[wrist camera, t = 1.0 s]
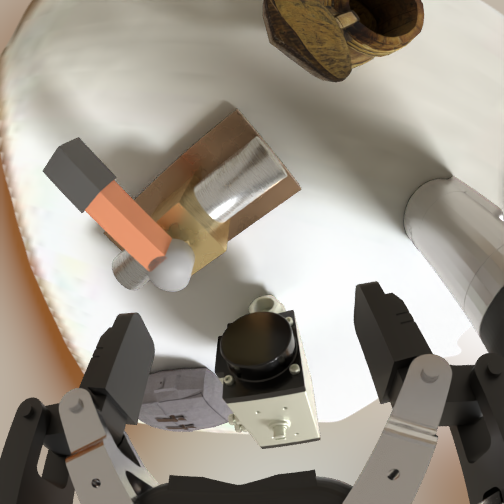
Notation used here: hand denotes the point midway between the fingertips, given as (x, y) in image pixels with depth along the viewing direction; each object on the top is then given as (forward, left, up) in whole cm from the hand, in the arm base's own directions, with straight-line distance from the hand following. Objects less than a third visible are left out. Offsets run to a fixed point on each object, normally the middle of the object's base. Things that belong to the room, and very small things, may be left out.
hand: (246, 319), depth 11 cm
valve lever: (+8, -5, -12) cm, 15 cm away
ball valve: (+12, +18, -22) cm, 31 cm away
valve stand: (+8, 0, -22) cm, 23 cm away
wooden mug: (-13, -6, -22) cm, 27 cm away
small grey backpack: (+36, +23, -22) cm, 48 cm away
